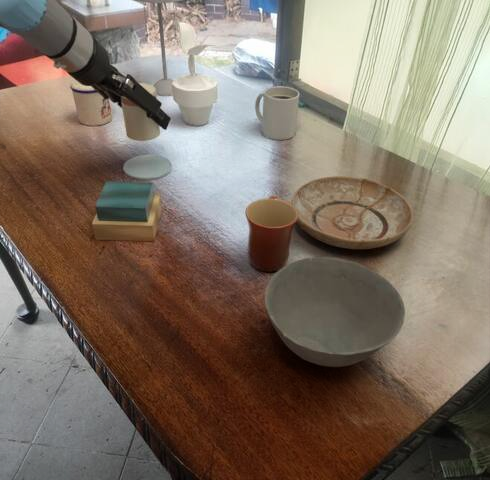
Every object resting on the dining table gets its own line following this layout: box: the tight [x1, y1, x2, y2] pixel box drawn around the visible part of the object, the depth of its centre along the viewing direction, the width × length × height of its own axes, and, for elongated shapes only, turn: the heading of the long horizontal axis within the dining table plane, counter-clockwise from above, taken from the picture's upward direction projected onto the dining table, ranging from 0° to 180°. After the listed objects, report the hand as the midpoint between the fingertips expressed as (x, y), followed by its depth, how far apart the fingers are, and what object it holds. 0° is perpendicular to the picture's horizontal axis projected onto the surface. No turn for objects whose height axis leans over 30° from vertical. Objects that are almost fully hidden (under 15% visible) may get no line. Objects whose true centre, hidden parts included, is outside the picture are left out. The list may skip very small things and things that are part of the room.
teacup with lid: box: [69, 79, 113, 127], centre depth 118 cm, size 12×9×12 cm
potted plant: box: [166, 13, 218, 127], centre depth 113 cm, size 13×12×25 cm
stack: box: [91, 180, 163, 242], centre depth 86 cm, size 11×11×6 cm
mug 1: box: [254, 85, 300, 141], centre depth 116 cm, size 11×10×10 cm
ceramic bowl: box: [290, 175, 414, 250], centre depth 89 cm, size 23×24×5 cm
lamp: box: [133, 0, 184, 97], centre depth 125 cm, size 17×17×33 cm
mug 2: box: [245, 195, 298, 273], centre depth 79 cm, size 12×9×10 cm
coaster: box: [122, 154, 173, 181], centre depth 104 cm, size 11×11×1 cm
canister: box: [120, 82, 161, 142], centre depth 95 cm, size 7×7×9 cm
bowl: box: [264, 256, 406, 368], centre depth 65 cm, size 19×19×10 cm
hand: (153, 118), depth 99 cm, fingers closed on canister, 7 cm apart
